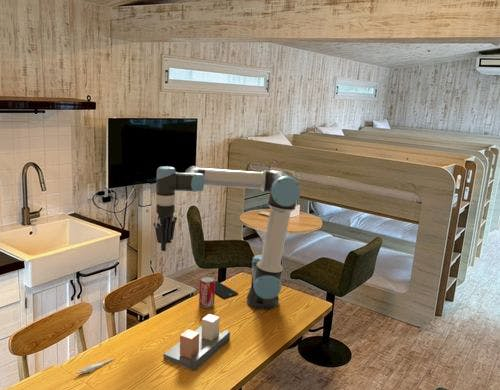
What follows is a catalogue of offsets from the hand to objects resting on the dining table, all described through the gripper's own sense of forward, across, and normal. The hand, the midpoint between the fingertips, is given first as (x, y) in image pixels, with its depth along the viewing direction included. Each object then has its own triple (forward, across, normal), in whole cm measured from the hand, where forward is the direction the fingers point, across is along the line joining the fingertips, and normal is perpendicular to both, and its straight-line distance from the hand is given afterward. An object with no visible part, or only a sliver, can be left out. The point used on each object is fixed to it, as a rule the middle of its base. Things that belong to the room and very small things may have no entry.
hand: (165, 257), depth 194 cm
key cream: (+24, +8, +29) cm, 39 cm away
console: (+26, +15, +28) cm, 41 cm away
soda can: (+27, -17, +11) cm, 33 cm away
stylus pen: (+27, +44, +5) cm, 52 cm away
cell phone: (+27, -34, +8) cm, 44 cm away
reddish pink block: (+24, +22, +29) cm, 44 cm away
